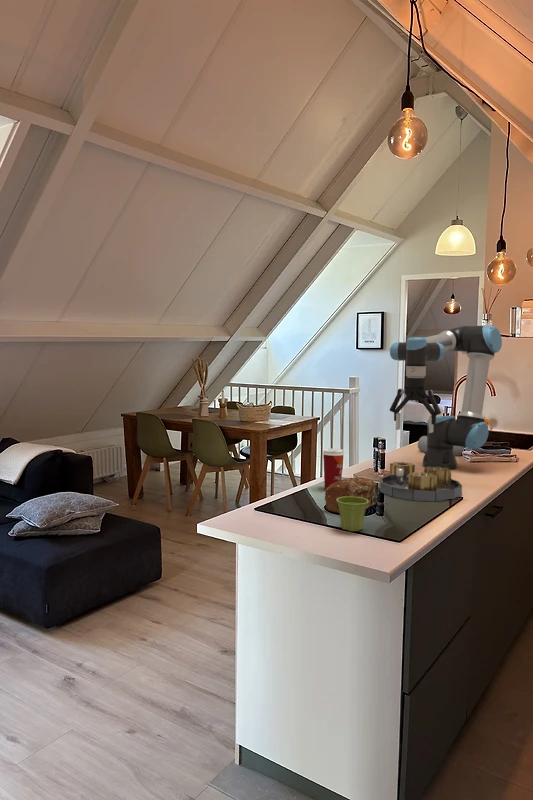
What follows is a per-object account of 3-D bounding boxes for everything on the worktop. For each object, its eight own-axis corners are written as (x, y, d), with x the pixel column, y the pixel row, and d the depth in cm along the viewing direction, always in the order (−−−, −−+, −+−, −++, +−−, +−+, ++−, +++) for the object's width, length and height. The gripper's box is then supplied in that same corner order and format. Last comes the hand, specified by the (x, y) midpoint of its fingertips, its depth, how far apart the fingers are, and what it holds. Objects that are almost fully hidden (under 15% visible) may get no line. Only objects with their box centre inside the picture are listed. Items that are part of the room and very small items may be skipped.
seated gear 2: (430, 480, 240) (430, 465, 239) (453, 484, 234) (454, 468, 233) (419, 484, 232) (420, 469, 232) (444, 488, 226) (445, 472, 226)
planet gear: (396, 474, 259) (396, 460, 259) (417, 478, 253) (418, 463, 253) (386, 478, 252) (386, 464, 251) (407, 481, 246) (408, 467, 245)
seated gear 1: (415, 486, 229) (415, 470, 228) (439, 490, 223) (440, 474, 222) (404, 491, 221) (404, 475, 221) (429, 495, 215) (430, 478, 215)
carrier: (400, 479, 251) (400, 461, 250) (471, 490, 233) (472, 470, 232) (365, 492, 227) (366, 472, 227) (442, 505, 210) (443, 484, 209)
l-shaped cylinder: (424, 454, 303) (464, 455, 302) (423, 433, 304) (464, 434, 304) (416, 456, 320) (454, 457, 320) (415, 436, 321) (454, 436, 321)
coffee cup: (342, 492, 227) (343, 452, 226) (320, 490, 229) (321, 451, 228) (344, 487, 235) (345, 448, 234) (323, 485, 237) (323, 447, 236)
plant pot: (333, 524, 186) (333, 496, 185) (363, 523, 187) (364, 495, 186) (339, 533, 177) (339, 504, 176) (371, 533, 178) (372, 503, 177)
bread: (350, 516, 195) (351, 485, 194) (322, 510, 202) (323, 481, 201) (378, 505, 210) (379, 476, 209) (351, 500, 216) (352, 472, 215)
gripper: (382, 376, 243) (381, 429, 245) (443, 378, 229) (442, 434, 231) (389, 375, 249) (388, 427, 251) (450, 377, 235) (448, 432, 237)
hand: (414, 431), depth 241 cm, fingers open, 13 cm apart
